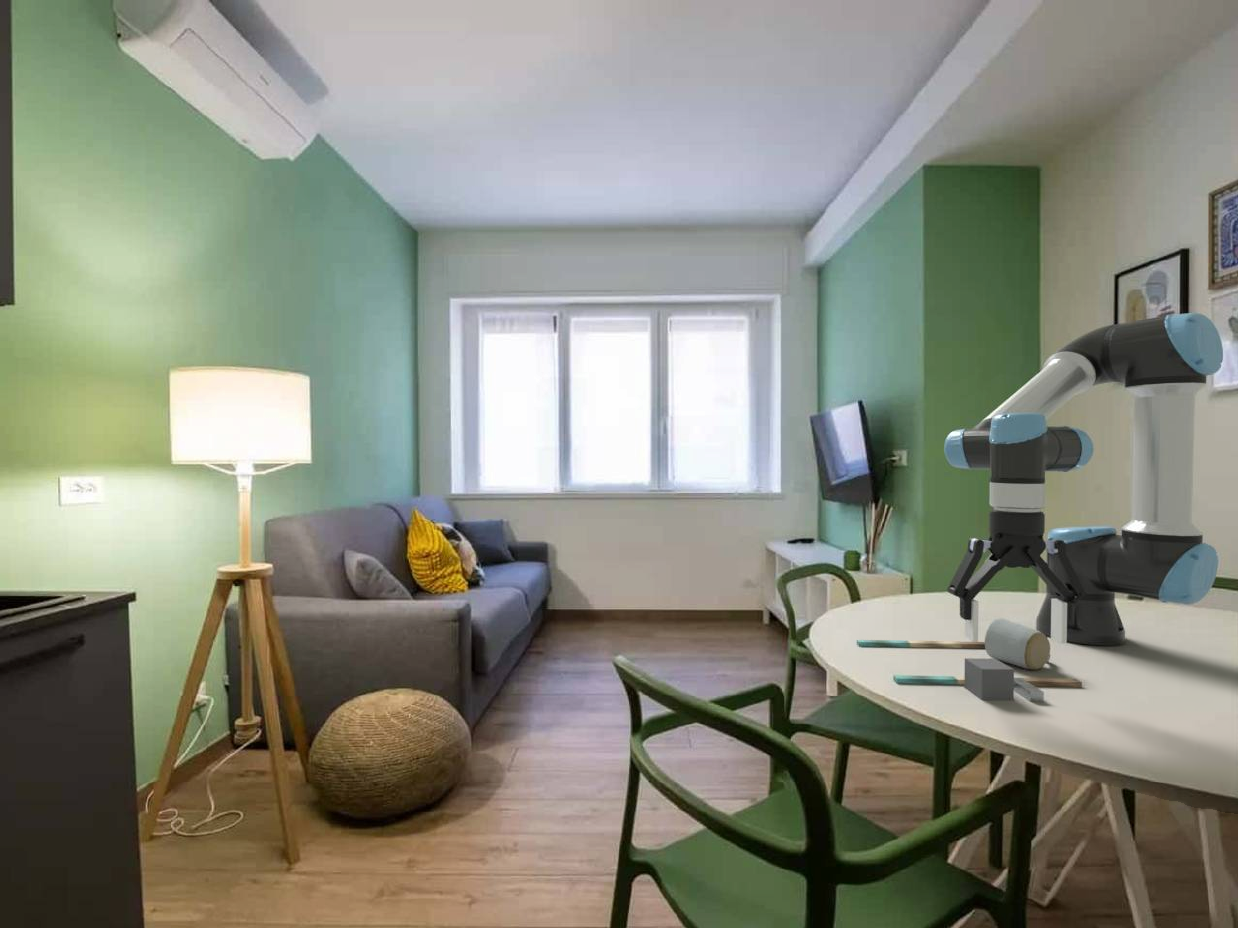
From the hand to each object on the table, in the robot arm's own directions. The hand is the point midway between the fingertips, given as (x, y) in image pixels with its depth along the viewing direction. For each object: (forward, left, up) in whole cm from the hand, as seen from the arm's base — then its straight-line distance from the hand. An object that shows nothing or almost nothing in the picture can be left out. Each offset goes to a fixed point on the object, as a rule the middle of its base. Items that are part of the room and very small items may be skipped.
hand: (1014, 640), depth 99 cm
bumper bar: (-2, 0, -9) cm, 9 cm away
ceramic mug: (-9, -15, -9) cm, 20 cm away
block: (+2, 0, -6) cm, 7 cm away
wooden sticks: (+2, -14, -9) cm, 17 cm away
